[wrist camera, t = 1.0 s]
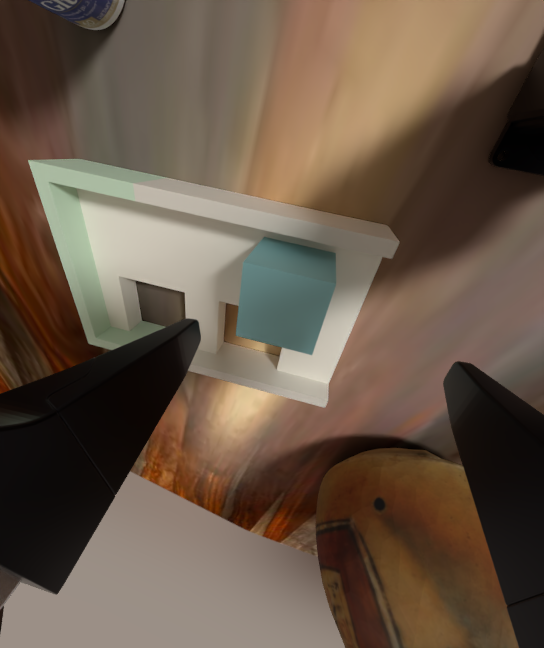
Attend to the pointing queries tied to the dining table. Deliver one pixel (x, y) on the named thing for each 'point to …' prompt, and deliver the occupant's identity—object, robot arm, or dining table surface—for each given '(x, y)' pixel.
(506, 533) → the robot arm
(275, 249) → the block
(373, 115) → the dining table surface
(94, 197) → the box
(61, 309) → the dining table surface
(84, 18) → the pill bottle
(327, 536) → the ceramic pitcher
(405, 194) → the dining table surface
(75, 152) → the dining table surface
